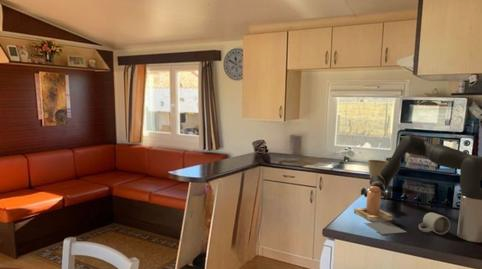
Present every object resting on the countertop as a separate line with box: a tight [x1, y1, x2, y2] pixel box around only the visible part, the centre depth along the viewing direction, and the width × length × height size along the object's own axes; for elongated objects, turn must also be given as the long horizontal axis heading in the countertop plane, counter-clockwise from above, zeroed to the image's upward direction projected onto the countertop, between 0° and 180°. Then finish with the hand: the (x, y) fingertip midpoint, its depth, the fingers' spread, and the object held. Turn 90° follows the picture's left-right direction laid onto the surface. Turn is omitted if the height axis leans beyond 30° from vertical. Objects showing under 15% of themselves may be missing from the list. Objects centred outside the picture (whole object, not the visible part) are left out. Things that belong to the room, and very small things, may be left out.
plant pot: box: [367, 159, 389, 179], centre depth 220 cm, size 15×15×16 cm
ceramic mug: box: [418, 212, 451, 236], centre depth 143 cm, size 11×8×8 cm
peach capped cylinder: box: [365, 185, 382, 215], centre depth 157 cm, size 7×6×14 cm
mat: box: [363, 221, 407, 236], centre depth 144 cm, size 12×12×1 cm
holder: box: [353, 207, 393, 223], centre depth 158 cm, size 12×12×2 cm
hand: (375, 196), depth 165 cm, fingers open, 8 cm apart
